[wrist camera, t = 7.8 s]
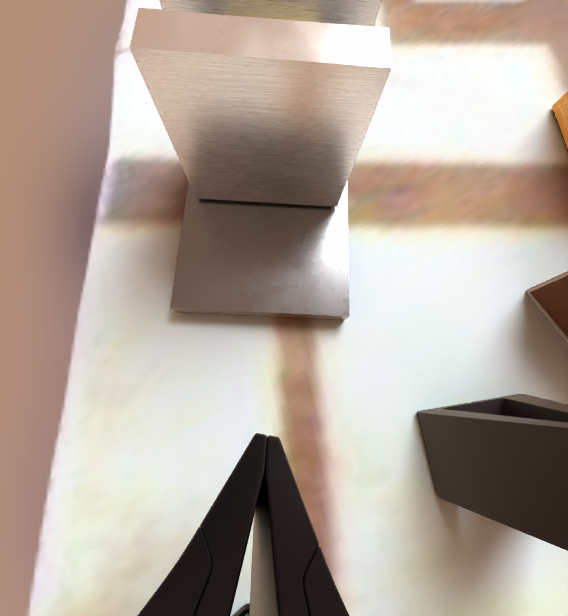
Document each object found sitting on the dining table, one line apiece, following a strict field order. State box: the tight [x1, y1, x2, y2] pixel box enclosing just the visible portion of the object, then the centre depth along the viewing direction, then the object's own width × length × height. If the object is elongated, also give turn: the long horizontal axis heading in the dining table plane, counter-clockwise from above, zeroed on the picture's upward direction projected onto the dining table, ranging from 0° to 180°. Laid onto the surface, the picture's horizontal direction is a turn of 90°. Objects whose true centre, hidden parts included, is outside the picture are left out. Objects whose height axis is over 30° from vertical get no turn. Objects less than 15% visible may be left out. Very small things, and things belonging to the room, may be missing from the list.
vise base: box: [160, 0, 382, 320], centre depth 19 cm, size 20×14×12 cm
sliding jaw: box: [130, 8, 391, 207], centre depth 18 cm, size 2×12×11 cm, turn 87°
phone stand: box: [418, 394, 568, 551], centre depth 15 cm, size 9×6×12 cm, turn 98°
